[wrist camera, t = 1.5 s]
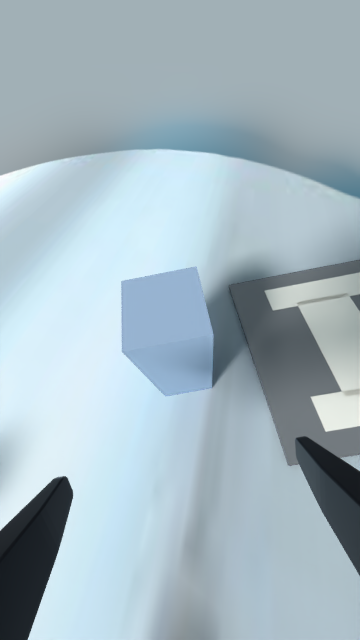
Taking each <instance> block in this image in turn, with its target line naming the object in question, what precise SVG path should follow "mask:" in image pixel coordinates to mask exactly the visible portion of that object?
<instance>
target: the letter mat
mask: <svg viewBox="0 0 360 640" xmlns="http://www.w3.org/2000/svg"><path fill="white" fill-rule="evenodd" d="M229 289H230V292H231V295H232V298H233V301H234V304H235V307H236V310H237V313H238V316H239V319H240V322H241V325H242V328H243V331H244V334H245V337H246V340H247V343H248V346H249V349H250V352H251V355H252V358H253V361H254V364H255V367H256V370H257V373H258V376H259V379H260V382H261V385H262V388H263V391H264V394H265V397H266V400H267V403H268V406H269V409H270V412H271V415H272V418H273V421H274V424H275V427H276V430H277V433H278V436H279V439H280V442H281V445H282V448H283V451H284V454H285V457H286V460H287V463H288V465H289V466H292V465H298V464H299V463H298V461H297V458H296V450H295V438H297V437H302V436H307V437H309V438H310V439H312V440H313V441H315V442H316V443H318V444H319V445H321V446H322V447H324V448H325V449H327V450H328V451H330V452H331V453H333V454H334V455H336V456H337V457H339V458H341V457H347V456H353V455H360V260H356V261H351V262H346V263H341V264H335V265H330V266H325V267H320V268H315V269H310V270H304V271H299V272H294V273H289V274H284V275H278V276H273V277H268V278H263V279H258V280H253V281H247V282H242V283H237V284H232V285H229Z"/></svg>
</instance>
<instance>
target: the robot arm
mask: <svg viewBox="0 0 360 640" xmlns="http://www.w3.org/2000/svg"><path fill="white" fill-rule="evenodd" d="M295 450H296V458H297V461H298V463H299V465H300V467H301V469H302V471H303V473H304V475H305V477H306V480H307V482H308V484H309V486H310V488H311V490H312V492H313V494H314V496H315V498H316V500H317V502H318V504H319V506H320V508H321V510H322V512H323V514H324V516H325V517H326V519H327V521H328V522H329V524H330V526H331V528H332V529H333V531H334V533H335V534H336V536H337V538H338V539H339V541H340V543H341V545H342V546H343V548H344V550H345V551H346V553H347V555H348V556H349V558H350V560H351V562H352V563H353V565H354V567H355V568H356V570H357V572H358V573H359V575H360V471H359V470H357V469H356V468H354V467H353V466H351V465H349V464H348V463H346V462H345V461H343V460H342V459H340V458H339V457H337V456H336V455H334V454H333V453H331V452H330V451H328V450H327V449H325V448H324V447H322V446H321V445H319V444H318V443H316V442H315V441H313V440H312V439H310V438H309V437H307V436H302V437H297V438H295ZM72 499H73V490H72V488H71V485H70V483H69V481H68V478H67V477H66V476H62V477H57V478H54V479H53V480H52V481H51V482H50V483H49V484H48V485H47V486H46V487H45V488H44V489H43V490H42V491H41V492H40V493H39V494H38V495H37V496H36V497H35V498H34V499H32V500H31V501H30V502H29V503H28V504H27V505H26V506H25V507H24V508H23V509H22V510H21V511H20V512H19V513H18V514H17V515H16V516H15V517H14V518H13V519H12V520H11V521H10V522H9V523H8V524H7V525H6V526H5V527H4V528H3V529H2V530H1V531H0V640H28V637H29V634H30V631H31V628H32V625H33V623H34V620H35V617H36V614H37V611H38V608H39V605H40V603H41V600H42V597H43V594H44V591H45V588H46V585H47V582H48V580H49V577H50V574H51V571H52V568H53V565H54V562H55V560H56V556H57V553H58V550H59V547H60V544H61V540H62V537H63V533H64V529H65V525H66V522H67V518H68V514H69V510H70V507H71V503H72Z"/></svg>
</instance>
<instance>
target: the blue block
mask: <svg viewBox="0 0 360 640" xmlns="http://www.w3.org/2000/svg"><path fill="white" fill-rule="evenodd" d="M121 288H122V352H123V353H124V354H125V355H126V356H127V357H128V358H129V359H130V360H131V361H132V362H133V364H134V365H135V366H136V367H137V368H138V369H139V370H140V371H141V372H142V373H143V374H144V375H145V376H146V377H147V378H148V379H149V380H150V381H151V382H152V383H153V384H154V385H155V386H156V387H157V388H158V389H159V390H160V391H161V392H162V393H163V394H164V395H165V396H170V395H176V394H181V393H187V392H193V391H198V390H204V389H210V388H212V373H213V336H214V335H213V331H212V327H211V323H210V319H209V315H208V311H207V307H206V303H205V299H204V295H203V291H202V287H201V283H200V279H199V275H198V271H197V267H191V268H186V269H181V270H176V271H171V272H166V273H160V274H155V275H150V276H145V277H140V278H135V279H130V280H125V281H121Z"/></svg>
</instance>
